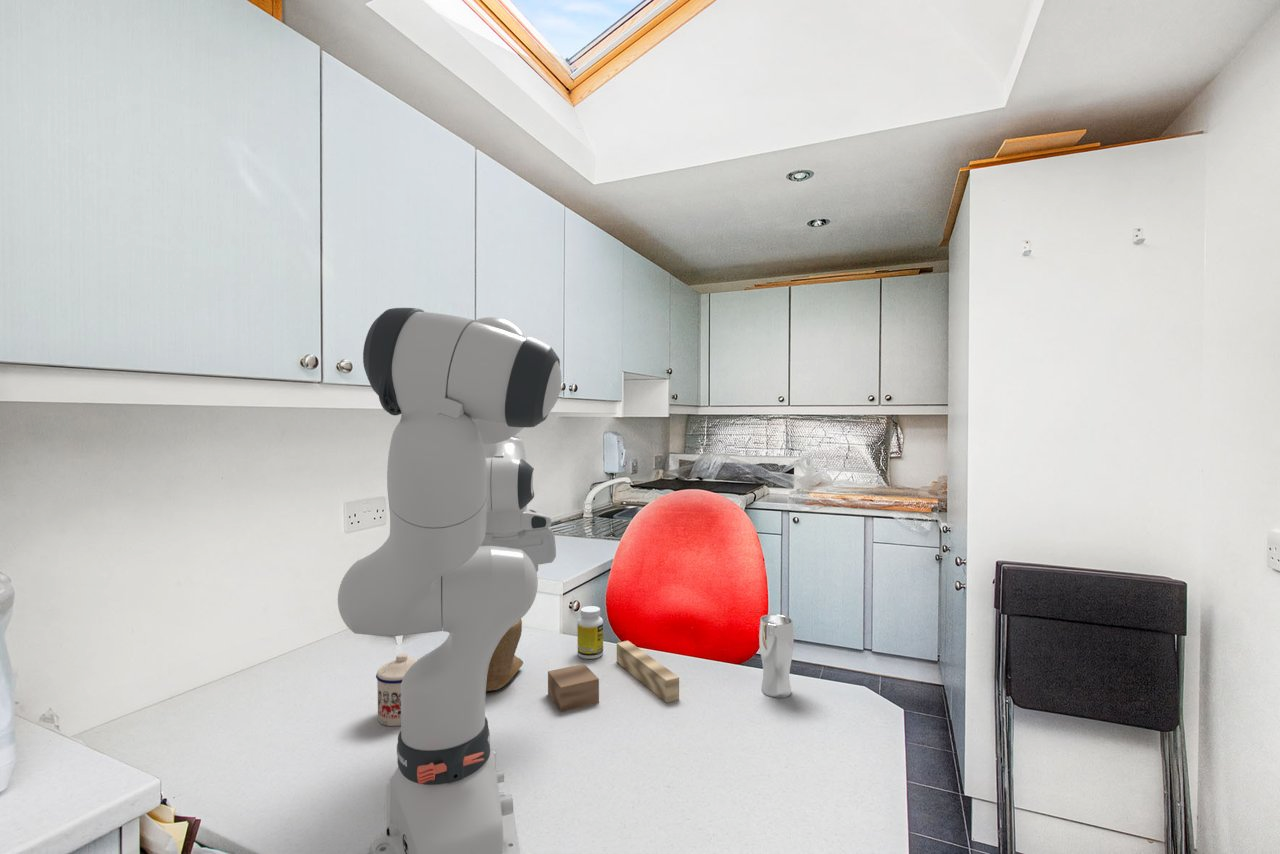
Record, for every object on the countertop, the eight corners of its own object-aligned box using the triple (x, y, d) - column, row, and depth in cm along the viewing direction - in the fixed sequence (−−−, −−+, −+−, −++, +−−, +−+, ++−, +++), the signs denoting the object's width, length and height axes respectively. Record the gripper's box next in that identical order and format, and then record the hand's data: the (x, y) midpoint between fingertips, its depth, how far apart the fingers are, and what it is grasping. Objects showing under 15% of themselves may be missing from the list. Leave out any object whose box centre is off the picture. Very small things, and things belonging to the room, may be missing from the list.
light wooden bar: (679, 699, 117) (679, 677, 117) (666, 702, 116) (666, 680, 116) (628, 659, 136) (628, 640, 136) (616, 662, 135) (616, 643, 135)
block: (599, 703, 116) (598, 678, 116) (561, 713, 112) (560, 687, 112) (584, 686, 123) (584, 663, 123) (547, 695, 120) (547, 671, 119)
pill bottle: (602, 660, 136) (602, 613, 136) (576, 659, 136) (575, 613, 136) (604, 649, 142) (604, 604, 142) (579, 649, 143) (579, 604, 142)
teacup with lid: (366, 725, 108) (365, 663, 107) (394, 701, 116) (393, 644, 116) (425, 731, 106) (425, 667, 105) (450, 706, 115) (449, 648, 114)
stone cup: (507, 698, 118) (507, 625, 117) (454, 692, 120) (454, 621, 120) (537, 667, 132) (536, 602, 132) (489, 662, 135) (488, 598, 135)
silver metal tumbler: (768, 680, 126) (768, 611, 125) (799, 690, 121) (799, 618, 121) (753, 692, 120) (753, 620, 120) (784, 702, 116) (784, 628, 115)
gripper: (451, 528, 103) (452, 605, 104) (559, 517, 113) (559, 587, 114) (444, 522, 109) (444, 595, 109) (547, 512, 119) (547, 579, 119)
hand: (504, 591), depth 112 cm, fingers open, 8 cm apart
